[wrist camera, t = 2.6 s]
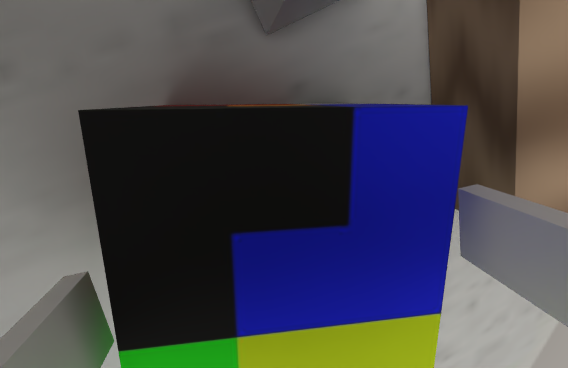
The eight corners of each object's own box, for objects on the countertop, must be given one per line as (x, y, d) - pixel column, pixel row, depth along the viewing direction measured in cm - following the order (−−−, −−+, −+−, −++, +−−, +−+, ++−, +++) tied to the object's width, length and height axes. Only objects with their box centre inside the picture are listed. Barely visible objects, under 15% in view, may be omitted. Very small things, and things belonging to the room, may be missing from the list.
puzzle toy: (345, 103, 18) (468, 105, 9) (339, 260, 21) (430, 394, 11) (165, 105, 17) (78, 110, 7) (181, 274, 19) (133, 441, 10)
